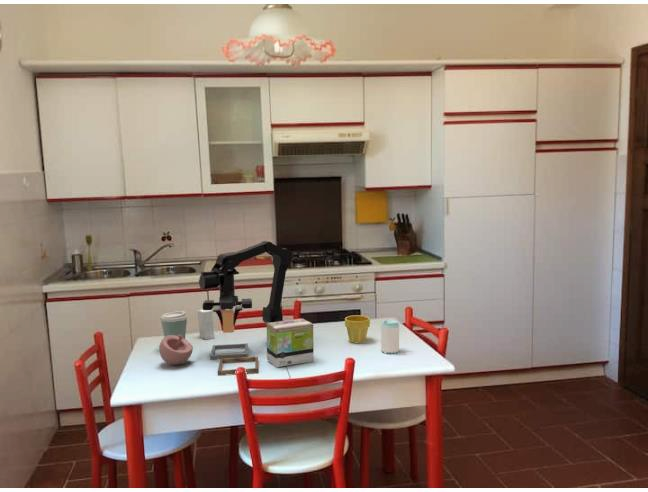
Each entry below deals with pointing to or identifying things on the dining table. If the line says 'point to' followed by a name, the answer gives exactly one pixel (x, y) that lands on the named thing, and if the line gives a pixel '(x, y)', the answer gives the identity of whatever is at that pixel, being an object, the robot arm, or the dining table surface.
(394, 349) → the can
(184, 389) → the dining table surface
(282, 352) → the tea box
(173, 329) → the disposable coffee cup
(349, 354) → the dining table surface
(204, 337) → the skincare box
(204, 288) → the robot arm
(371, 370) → the dining table surface
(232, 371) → the frame
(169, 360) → the mortar and pestle
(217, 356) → the gray square frame
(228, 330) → the plug block
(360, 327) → the plant pot
